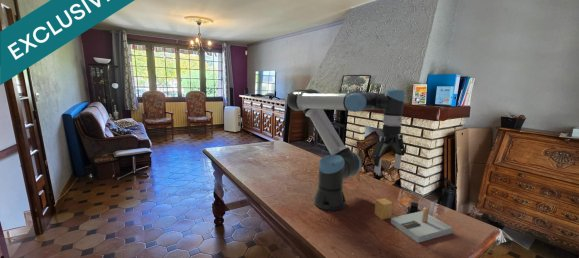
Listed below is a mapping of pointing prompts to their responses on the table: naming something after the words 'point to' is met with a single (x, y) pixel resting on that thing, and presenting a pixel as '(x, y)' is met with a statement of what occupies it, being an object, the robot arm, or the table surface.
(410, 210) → the black power adapter
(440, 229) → the junction plate
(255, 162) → the table surface
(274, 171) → the table surface
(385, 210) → the cardboard-colored cube
